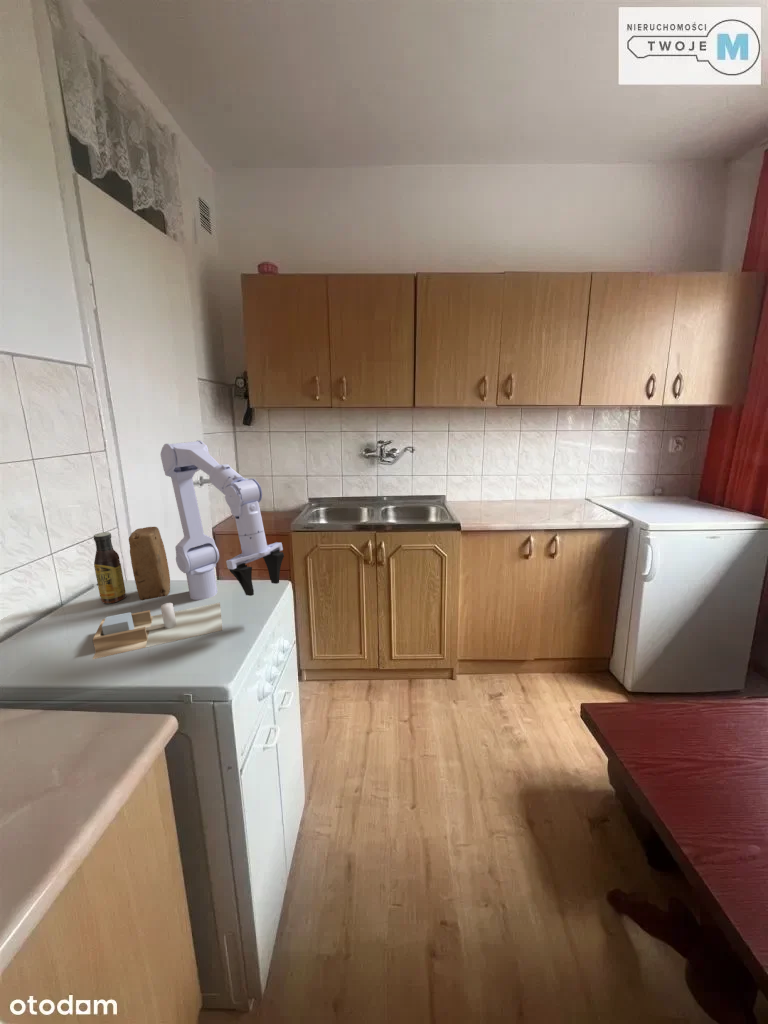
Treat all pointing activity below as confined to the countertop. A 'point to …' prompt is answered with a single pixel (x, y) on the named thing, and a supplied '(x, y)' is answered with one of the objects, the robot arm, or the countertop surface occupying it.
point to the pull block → (126, 623)
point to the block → (149, 563)
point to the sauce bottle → (108, 570)
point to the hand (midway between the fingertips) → (263, 588)
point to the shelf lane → (158, 630)
